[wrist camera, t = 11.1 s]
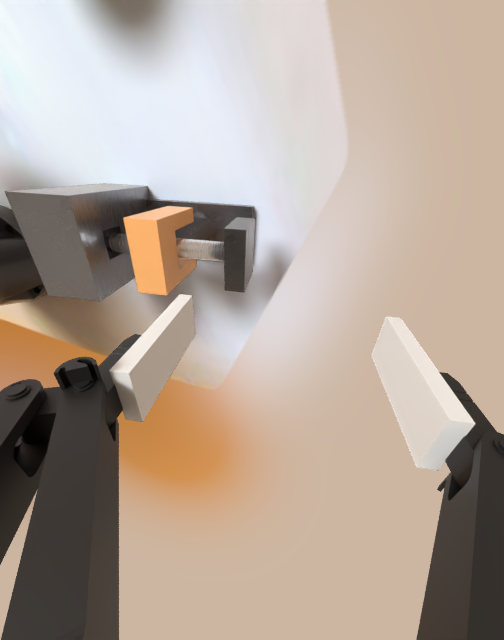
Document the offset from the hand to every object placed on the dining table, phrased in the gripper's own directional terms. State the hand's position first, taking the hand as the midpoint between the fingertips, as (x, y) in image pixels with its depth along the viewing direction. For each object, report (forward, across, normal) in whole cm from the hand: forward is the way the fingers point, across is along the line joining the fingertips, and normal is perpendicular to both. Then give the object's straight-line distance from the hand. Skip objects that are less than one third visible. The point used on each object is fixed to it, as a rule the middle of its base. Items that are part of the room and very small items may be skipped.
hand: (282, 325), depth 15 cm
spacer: (+18, -13, 0) cm, 22 cm away
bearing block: (+22, -15, 0) cm, 27 cm away
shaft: (+16, -11, 0) cm, 20 cm away
